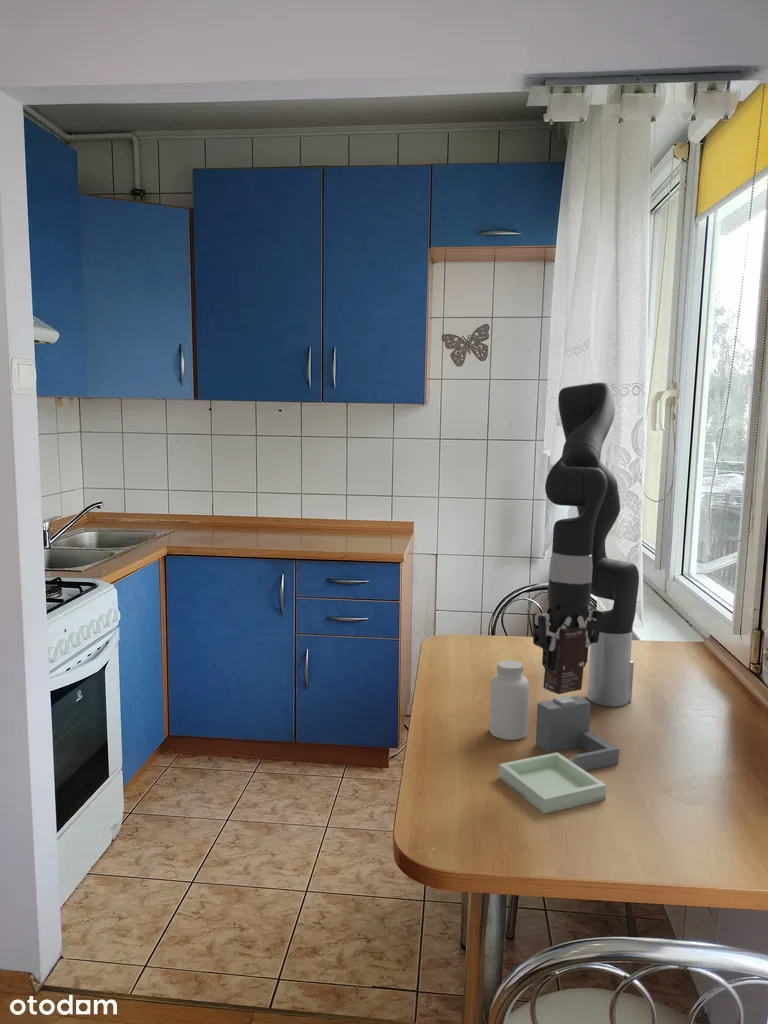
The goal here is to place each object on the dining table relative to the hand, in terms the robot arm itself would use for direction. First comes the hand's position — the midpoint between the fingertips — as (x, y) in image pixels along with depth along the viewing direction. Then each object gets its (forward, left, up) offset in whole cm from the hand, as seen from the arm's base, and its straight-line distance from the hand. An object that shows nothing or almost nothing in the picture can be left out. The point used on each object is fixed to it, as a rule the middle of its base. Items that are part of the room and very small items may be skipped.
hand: (564, 667), depth 143 cm
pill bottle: (-2, -20, -21) cm, 29 cm away
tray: (+4, +3, -21) cm, 22 cm away
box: (0, 0, -4) cm, 4 cm away
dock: (-9, -6, -21) cm, 23 cm away
